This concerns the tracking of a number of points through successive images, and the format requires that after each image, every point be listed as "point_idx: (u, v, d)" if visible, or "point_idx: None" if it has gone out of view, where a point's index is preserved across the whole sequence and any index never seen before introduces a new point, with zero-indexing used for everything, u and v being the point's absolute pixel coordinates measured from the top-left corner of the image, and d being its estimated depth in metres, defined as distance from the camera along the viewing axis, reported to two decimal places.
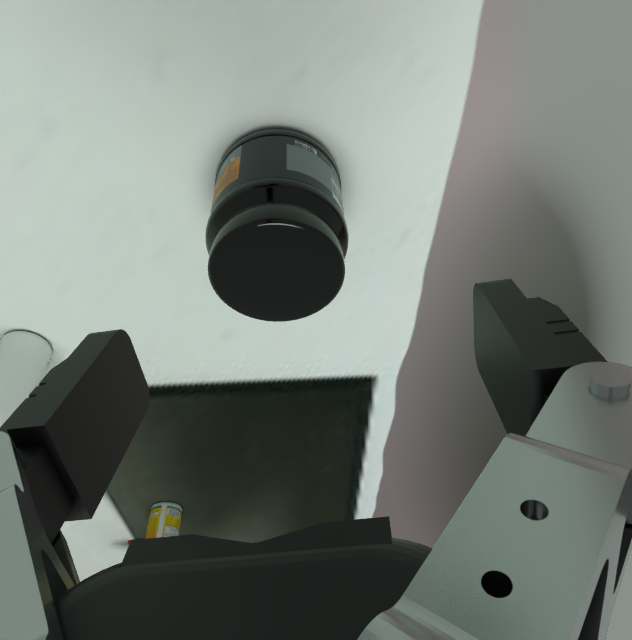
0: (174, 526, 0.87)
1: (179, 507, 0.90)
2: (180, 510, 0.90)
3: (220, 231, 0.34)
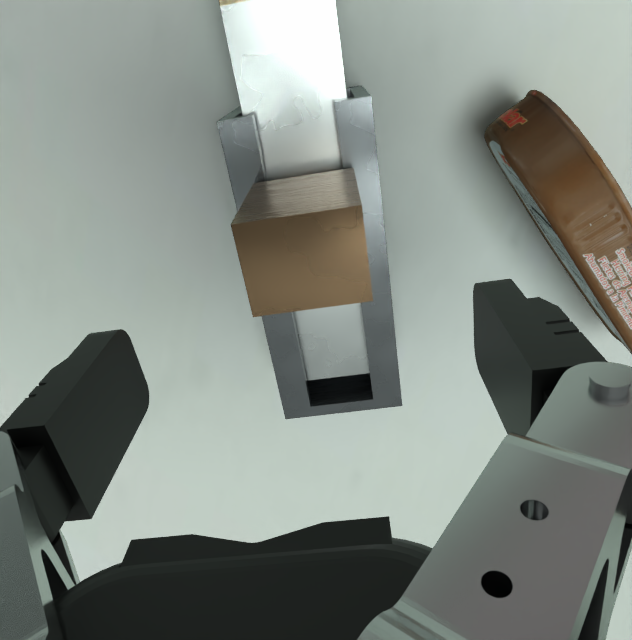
0: None
1: None
2: None
3: None
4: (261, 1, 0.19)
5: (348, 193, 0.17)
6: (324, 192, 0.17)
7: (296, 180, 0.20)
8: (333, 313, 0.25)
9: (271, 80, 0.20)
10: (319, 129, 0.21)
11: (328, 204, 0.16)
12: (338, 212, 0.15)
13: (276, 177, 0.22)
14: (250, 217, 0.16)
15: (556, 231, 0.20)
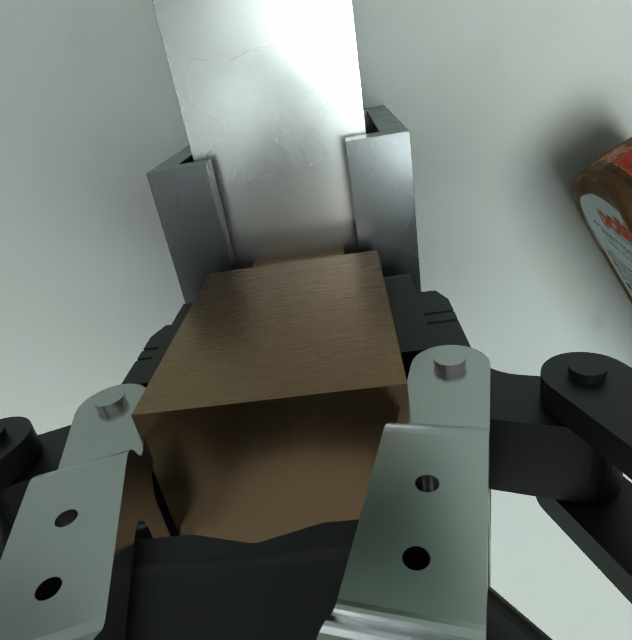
0: None
1: None
2: None
3: None
4: None
5: (374, 333, 0.09)
6: (327, 320, 0.09)
7: (280, 275, 0.12)
8: None
9: (239, 103, 0.12)
10: (320, 182, 0.13)
11: (335, 365, 0.08)
12: (355, 397, 0.07)
13: (250, 255, 0.14)
14: (175, 393, 0.08)
15: None
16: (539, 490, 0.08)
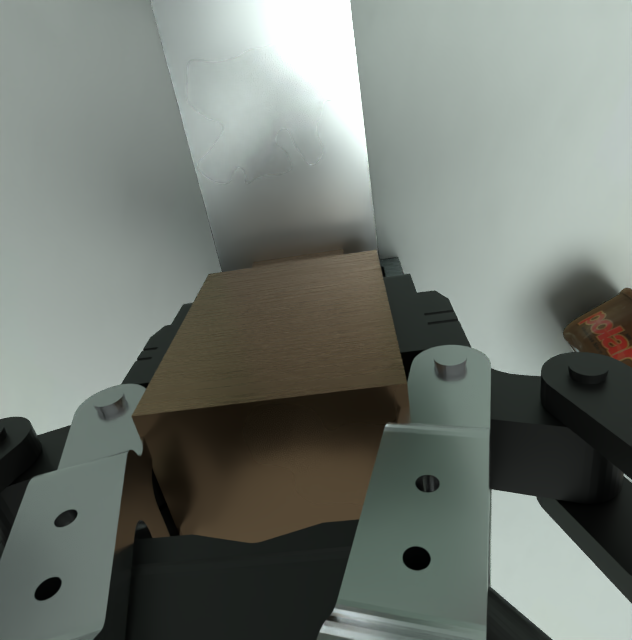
0: None
1: None
2: None
3: None
4: None
5: (374, 333, 0.09)
6: (327, 320, 0.09)
7: (279, 275, 0.11)
8: None
9: (238, 102, 0.12)
10: (319, 182, 0.13)
11: (335, 365, 0.08)
12: (355, 397, 0.07)
13: (250, 255, 0.14)
14: (175, 394, 0.08)
15: None
16: (539, 490, 0.08)
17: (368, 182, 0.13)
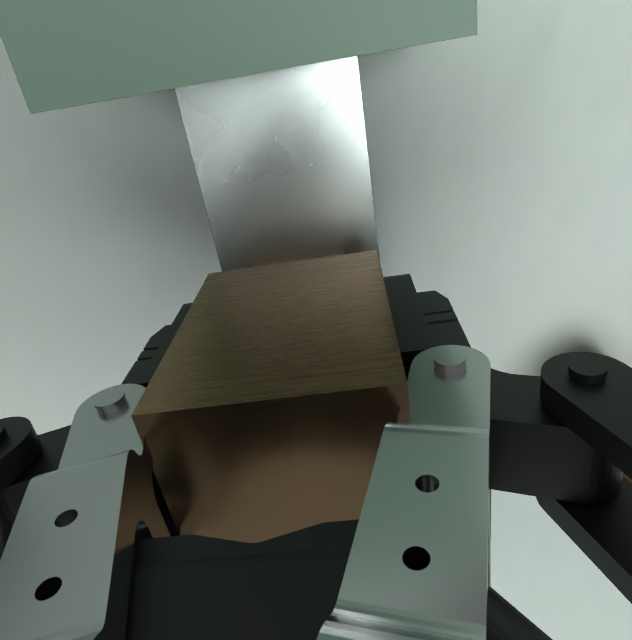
0: None
1: None
2: None
3: None
4: None
5: (374, 333, 0.09)
6: (327, 320, 0.09)
7: (279, 274, 0.11)
8: None
9: (239, 102, 0.12)
10: (320, 182, 0.13)
11: (335, 365, 0.08)
12: (355, 397, 0.07)
13: (250, 254, 0.14)
14: (175, 393, 0.08)
15: None
16: (539, 490, 0.08)
17: (369, 182, 0.13)
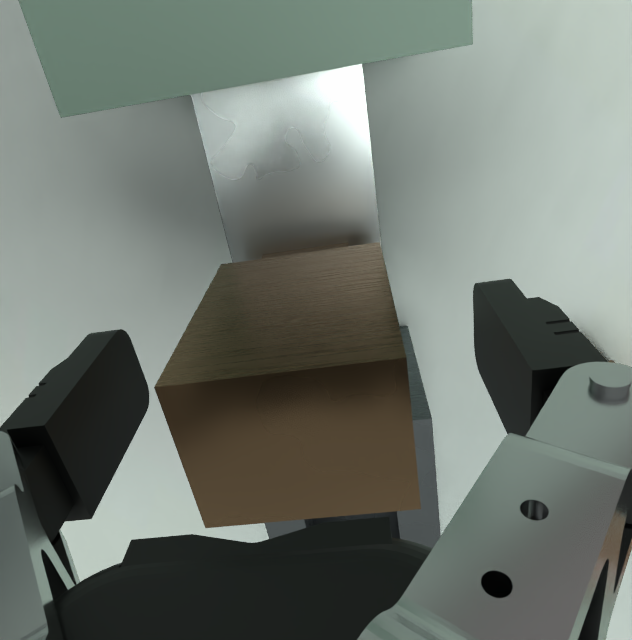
0: None
1: None
2: None
3: None
4: None
5: (377, 315, 0.09)
6: (333, 305, 0.10)
7: (288, 265, 0.12)
8: None
9: (250, 103, 0.13)
10: (326, 178, 0.13)
11: (340, 343, 0.09)
12: (359, 370, 0.08)
13: (259, 248, 0.14)
14: (194, 368, 0.09)
15: None
16: None
17: (372, 179, 0.13)
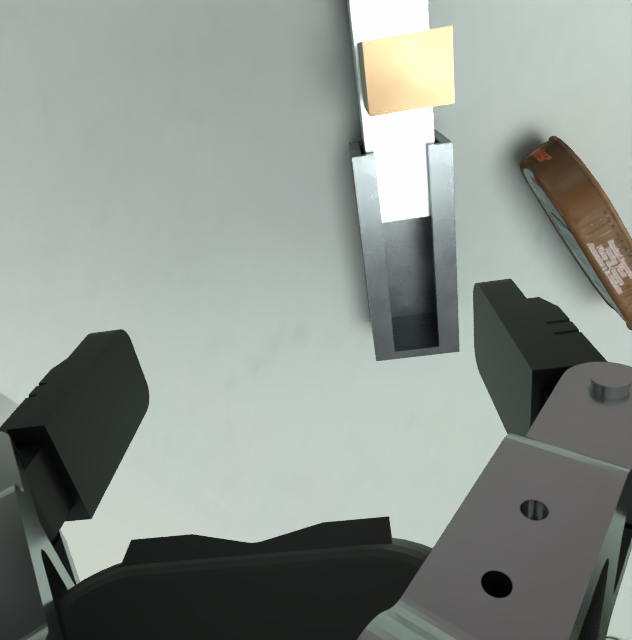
0: None
1: None
2: None
3: None
4: None
5: None
6: None
7: None
8: (405, 162, 0.32)
9: None
10: (404, 6, 0.28)
11: None
12: (435, 31, 0.23)
13: None
14: None
15: (570, 228, 0.31)
16: None
17: (426, 6, 0.28)
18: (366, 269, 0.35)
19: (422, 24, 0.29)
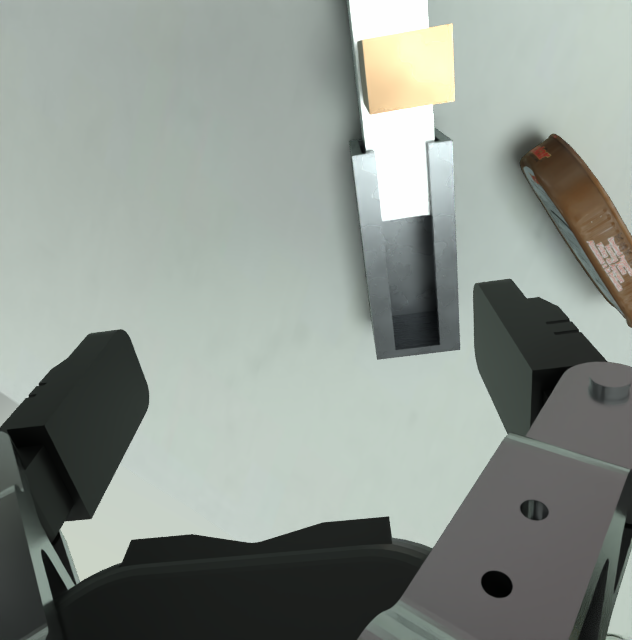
0: None
1: None
2: None
3: None
4: None
5: None
6: None
7: None
8: (405, 161, 0.32)
9: None
10: (404, 4, 0.28)
11: None
12: (435, 29, 0.23)
13: None
14: None
15: (569, 226, 0.31)
16: None
17: (426, 4, 0.28)
18: (367, 267, 0.35)
19: (422, 22, 0.29)
